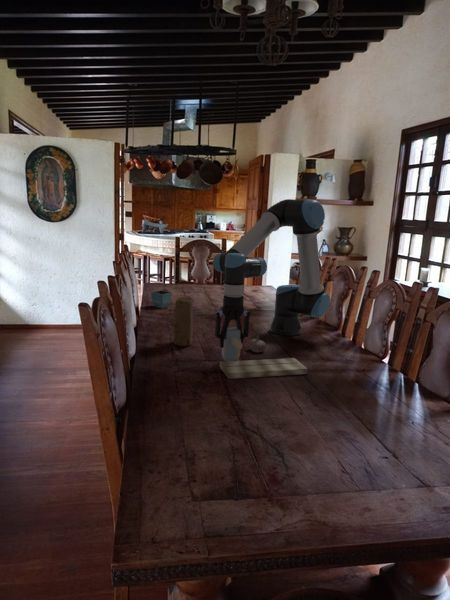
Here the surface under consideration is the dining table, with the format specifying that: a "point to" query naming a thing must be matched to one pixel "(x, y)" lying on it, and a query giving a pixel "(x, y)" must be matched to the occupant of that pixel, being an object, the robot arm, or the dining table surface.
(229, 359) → the hammer
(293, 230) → the robot arm
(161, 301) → the flower pot
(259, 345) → the garlic bulb
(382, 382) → the dining table surface
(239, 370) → the board
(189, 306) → the stone
